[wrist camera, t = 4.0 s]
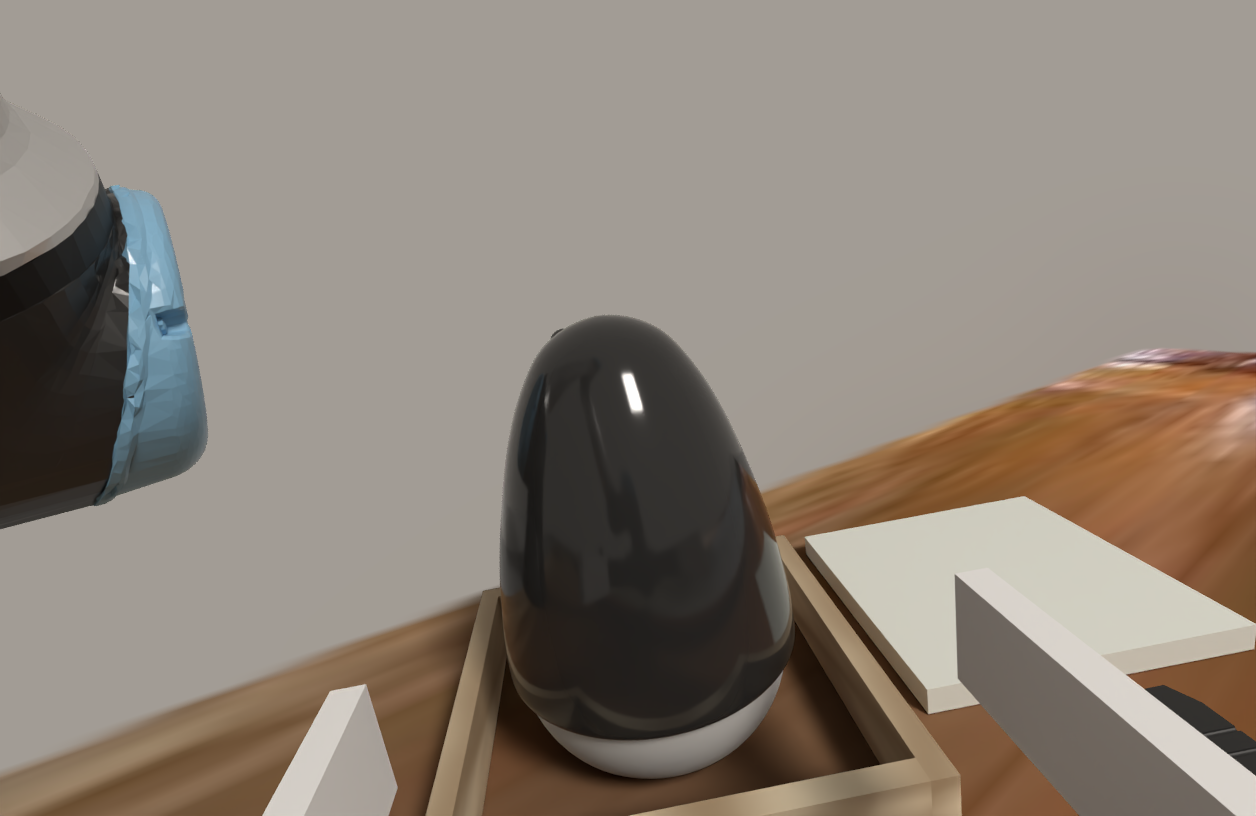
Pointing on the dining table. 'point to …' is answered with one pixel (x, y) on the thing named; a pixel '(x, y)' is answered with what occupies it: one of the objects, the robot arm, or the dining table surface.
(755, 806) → the square picture frame
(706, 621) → the black tall egg-shaped piece
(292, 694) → the dining table surface
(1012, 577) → the ceramic tile
